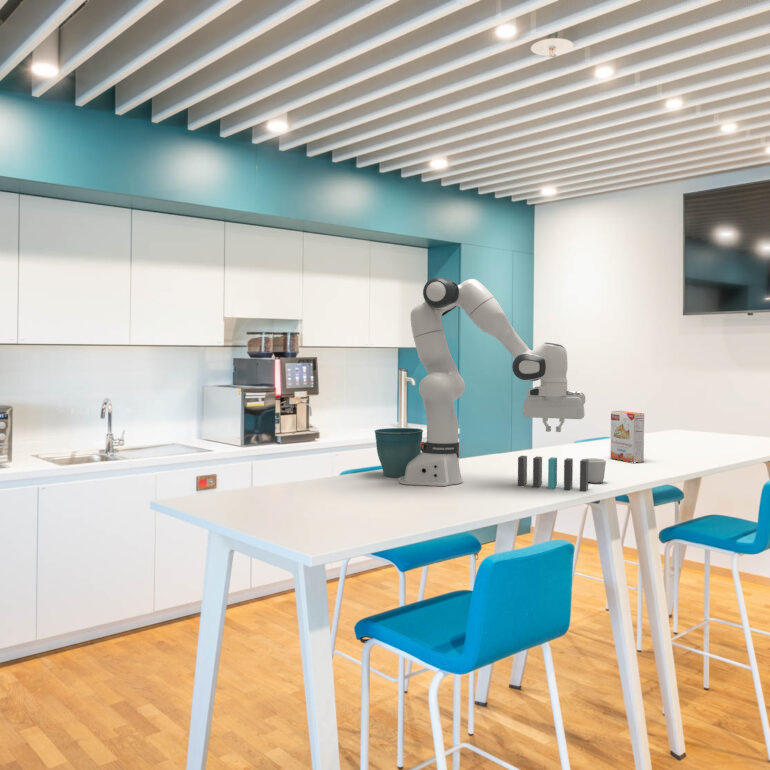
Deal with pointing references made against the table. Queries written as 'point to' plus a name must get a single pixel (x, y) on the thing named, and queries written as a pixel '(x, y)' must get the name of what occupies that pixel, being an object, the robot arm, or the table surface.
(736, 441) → the table surface
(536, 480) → the domino
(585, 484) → the domino
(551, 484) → the domino teal
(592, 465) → the cup
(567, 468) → the domino
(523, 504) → the table surface
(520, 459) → the domino
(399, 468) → the flower pot
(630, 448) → the cracker box
